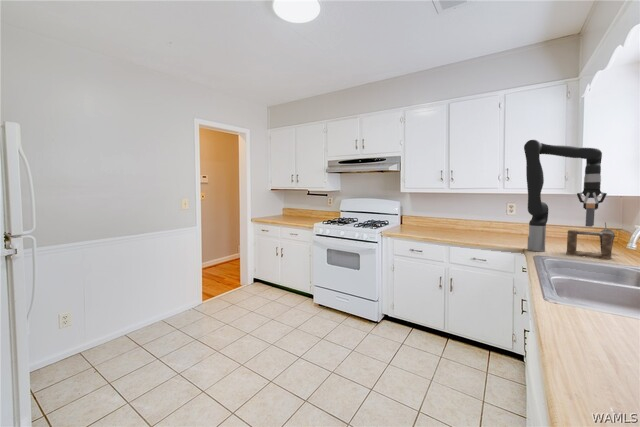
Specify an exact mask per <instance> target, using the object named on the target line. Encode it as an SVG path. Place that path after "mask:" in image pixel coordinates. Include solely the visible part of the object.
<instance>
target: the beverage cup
mask: <svg viewBox="0 0 640 427" xmlns="http://www.w3.org/2000/svg"><path fill="white" fill-rule="evenodd" d="M604 226H605V229H602V230H601V231H600V232H599V233H603V232H607V233H613V236H612V247H613V245H614V240H615V237H616V235H615V232H614V231H613V230H612V229H609V228H608V229H607V221H606V222H604ZM599 240H600V241H599V244H600V253H602V236H599Z"/></svg>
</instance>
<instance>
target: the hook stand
mask: <svg viewBox="0 0 640 427" xmlns="http://www.w3.org/2000/svg"><path fill="white" fill-rule="evenodd" d="M578 235H583V236H584V235H585V236H595V237H596V236H597V237H600V236H602V253H601V252H593V251H592V252H590V251H581V250H577V249H578V248H577V243H578ZM612 236H613V233H607V232H603V233H600V232H597V231H585V230H584V231H580V230H576V229H575V230H573V229H568V230H567V240H566V242H567V243H566V253H565V255H567V256H576V257H583V256H585V258H592V257H593V259H594V258H595V259H602V260H611V259H612V257H613V256H612V254H613V253H612V251H613V246H612Z"/></svg>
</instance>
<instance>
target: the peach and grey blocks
mask: <svg viewBox="0 0 640 427" xmlns="http://www.w3.org/2000/svg"><path fill="white" fill-rule="evenodd" d="M595 204H596V202H594V203H593V202H591V203H590V202H587V203H586V209H585V210H586V212H585V227H589V228H591V227H593V226H595V211H596V210H595Z"/></svg>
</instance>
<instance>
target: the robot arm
mask: <svg viewBox="0 0 640 427" xmlns="http://www.w3.org/2000/svg"><path fill="white" fill-rule="evenodd" d="M523 150H524V155H525V160H526V171H525V172H526V176H525V177H526V184H527V185H526V186H527V188H526V189H527V211H528V213H529V215H531V216H532V217H531V219H530V220H529V222H528V225H529V226H528V236H527V251H533V252H545V251H546V236H547V232H546V231H547V222H548V221H549V219H548V218H549V206H548V203H546V202H543V201H542V197H541V193H542V189H543V186H544V181H545V180H544V179H545V178H544V170H543V166H542V164H541V160H540V159H541V158H540V155H549V156H550V155H551V156H557V157H563V158H572V159H583V160H586V162H585V167H584V168H585V169H584V177H583V189H582V191H581V192H577V193H576V196H577V199H578V201H579V203H583V209H584V210H586V203H588V200H589V199H594V201H595V202H594V203H596V204H595V211H596V210H598V209H599V204H601V203H603V202H604V200H605V198H606V196H607V195H608V194H607V193H608V192H607V193H606V192H602V191H601V182H602V175H601V172H602V168H601V167H602V165H601V163H602V157H603V152H602V150H600V149H599V148H595V147H580V146H575V145H553V144H547V143H543V142H540V141H538V140H536V139H530V140H527V141H526V142H525V143H524V146H523ZM582 196H584V197H585V198H584V200H583V198H582ZM598 196H601V198H600V200H599V199H598Z"/></svg>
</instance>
